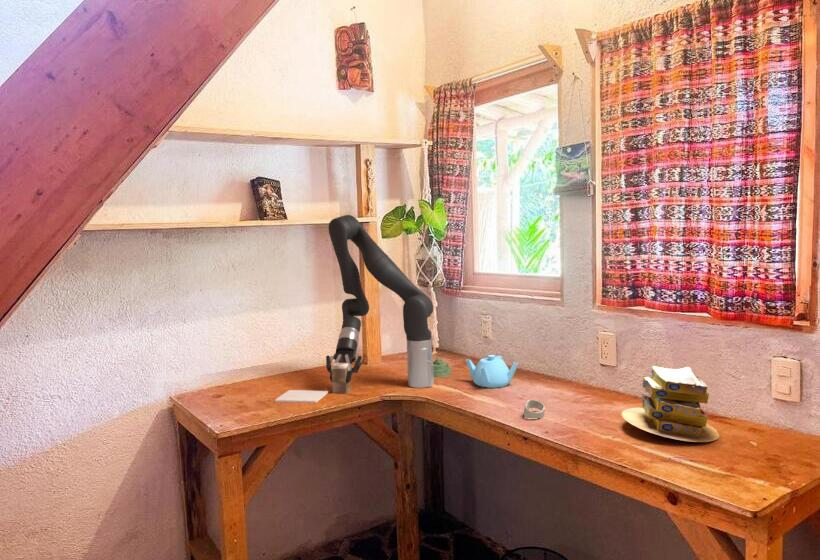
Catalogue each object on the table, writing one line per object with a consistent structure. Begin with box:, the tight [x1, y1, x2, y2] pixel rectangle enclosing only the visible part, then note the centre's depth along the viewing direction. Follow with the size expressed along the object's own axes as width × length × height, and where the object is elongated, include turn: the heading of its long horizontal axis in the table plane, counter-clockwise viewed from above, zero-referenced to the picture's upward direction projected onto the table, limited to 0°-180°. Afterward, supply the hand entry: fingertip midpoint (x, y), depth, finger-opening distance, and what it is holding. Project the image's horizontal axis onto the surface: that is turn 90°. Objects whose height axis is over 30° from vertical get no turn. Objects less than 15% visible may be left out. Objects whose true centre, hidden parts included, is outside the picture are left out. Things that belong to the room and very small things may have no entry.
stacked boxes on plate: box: [621, 365, 720, 443], centre depth 170 cm, size 25×25×17 cm
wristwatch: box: [522, 398, 546, 419], centre depth 187 cm, size 9×6×5 cm
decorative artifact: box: [433, 356, 452, 378], centre depth 244 cm, size 10×7×10 cm
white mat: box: [274, 389, 329, 404], centre depth 217 cm, size 15×13×1 cm
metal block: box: [331, 363, 351, 395], centre depth 222 cm, size 5×5×10 cm
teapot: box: [465, 354, 519, 389], centre depth 225 cm, size 15×15×11 cm
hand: (339, 381), depth 220 cm, fingers closed on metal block, 5 cm apart
